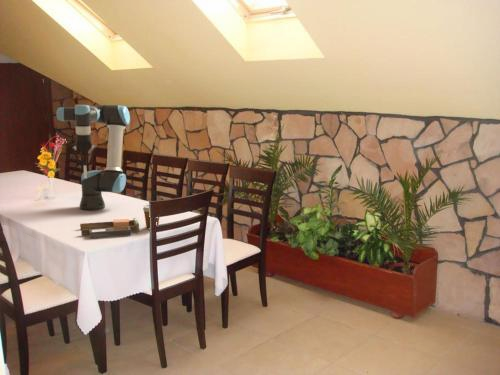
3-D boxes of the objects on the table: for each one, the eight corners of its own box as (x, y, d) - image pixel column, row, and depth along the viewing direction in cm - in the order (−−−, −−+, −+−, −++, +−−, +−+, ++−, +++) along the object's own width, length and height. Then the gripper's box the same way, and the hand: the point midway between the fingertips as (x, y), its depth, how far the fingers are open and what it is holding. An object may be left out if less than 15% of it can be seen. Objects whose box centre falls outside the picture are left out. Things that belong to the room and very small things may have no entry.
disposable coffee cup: (162, 225, 288) (161, 204, 286) (159, 230, 279) (159, 208, 277) (145, 225, 288) (144, 204, 286) (142, 230, 279) (141, 208, 276)
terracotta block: (113, 228, 281) (113, 219, 280) (129, 227, 283) (128, 218, 282) (113, 231, 276) (113, 222, 275) (129, 230, 278) (128, 221, 277)
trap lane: (80, 229, 278) (80, 221, 278) (135, 225, 288) (135, 218, 287) (82, 239, 261) (81, 231, 260) (140, 234, 271) (140, 227, 270)
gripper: (70, 135, 272) (72, 179, 276) (96, 134, 276) (98, 178, 281) (70, 133, 278) (72, 177, 283) (95, 133, 283) (97, 176, 288)
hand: (85, 177), depth 282 cm, fingers closed
